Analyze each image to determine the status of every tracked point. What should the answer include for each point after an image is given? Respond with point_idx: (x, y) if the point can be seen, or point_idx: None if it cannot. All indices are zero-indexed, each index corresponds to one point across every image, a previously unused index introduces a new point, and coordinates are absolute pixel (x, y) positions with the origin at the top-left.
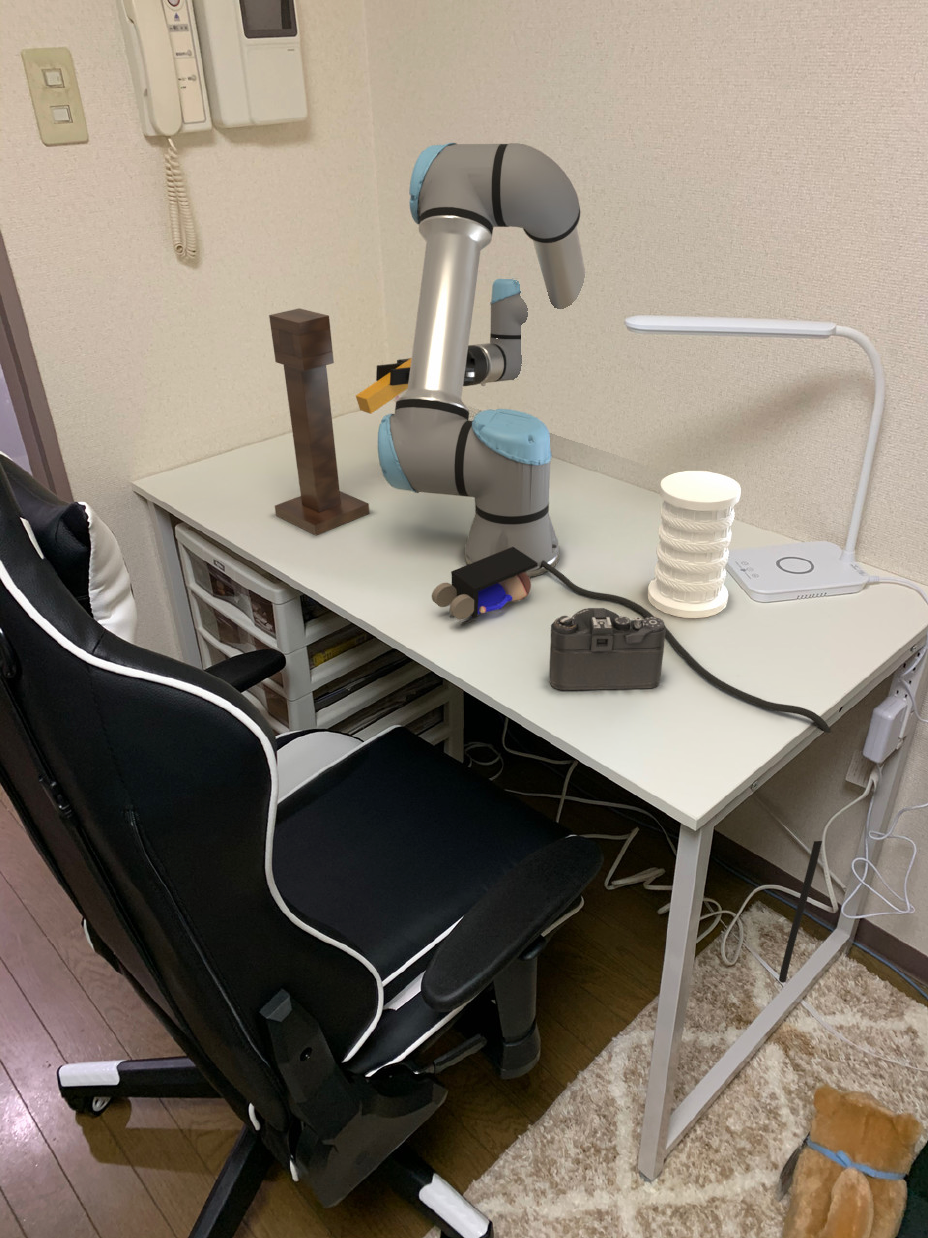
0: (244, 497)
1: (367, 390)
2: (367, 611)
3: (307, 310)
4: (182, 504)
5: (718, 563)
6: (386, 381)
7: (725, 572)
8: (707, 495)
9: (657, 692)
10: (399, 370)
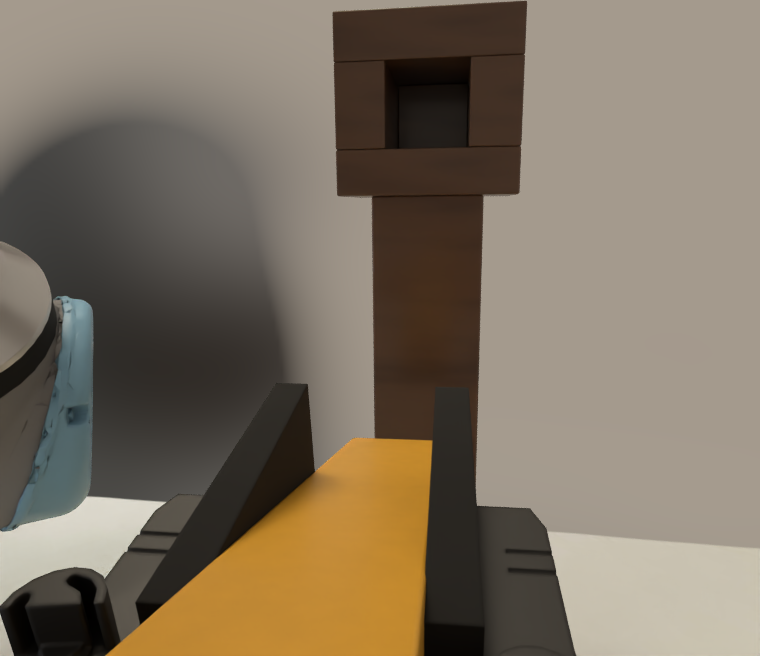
0: (701, 635)
1: (410, 451)
2: (91, 504)
3: (467, 5)
4: (733, 553)
5: None
6: (355, 474)
7: None
8: None
9: None
10: (257, 422)
